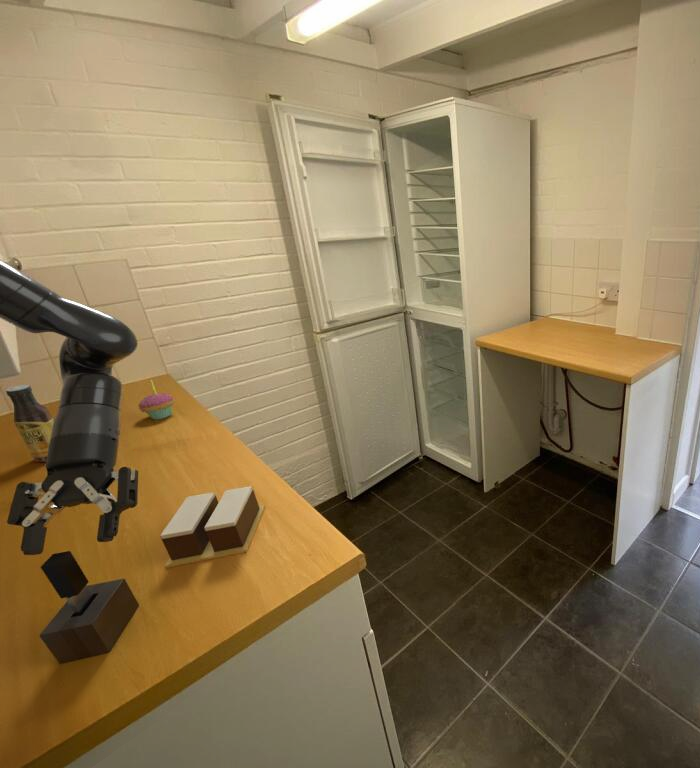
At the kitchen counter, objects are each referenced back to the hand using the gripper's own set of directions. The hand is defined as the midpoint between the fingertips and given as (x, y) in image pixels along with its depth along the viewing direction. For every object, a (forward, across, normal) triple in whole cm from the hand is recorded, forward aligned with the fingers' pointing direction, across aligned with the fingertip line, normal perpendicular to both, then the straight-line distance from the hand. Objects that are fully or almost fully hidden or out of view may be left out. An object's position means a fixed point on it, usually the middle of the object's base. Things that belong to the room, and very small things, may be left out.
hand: (69, 547), depth 59 cm
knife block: (+12, 0, +8) cm, 15 cm away
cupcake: (-46, -26, +66) cm, 85 cm away
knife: (+12, 0, +9) cm, 15 cm away
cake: (-1, +10, +21) cm, 24 cm away
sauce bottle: (-33, -44, +54) cm, 76 cm away
